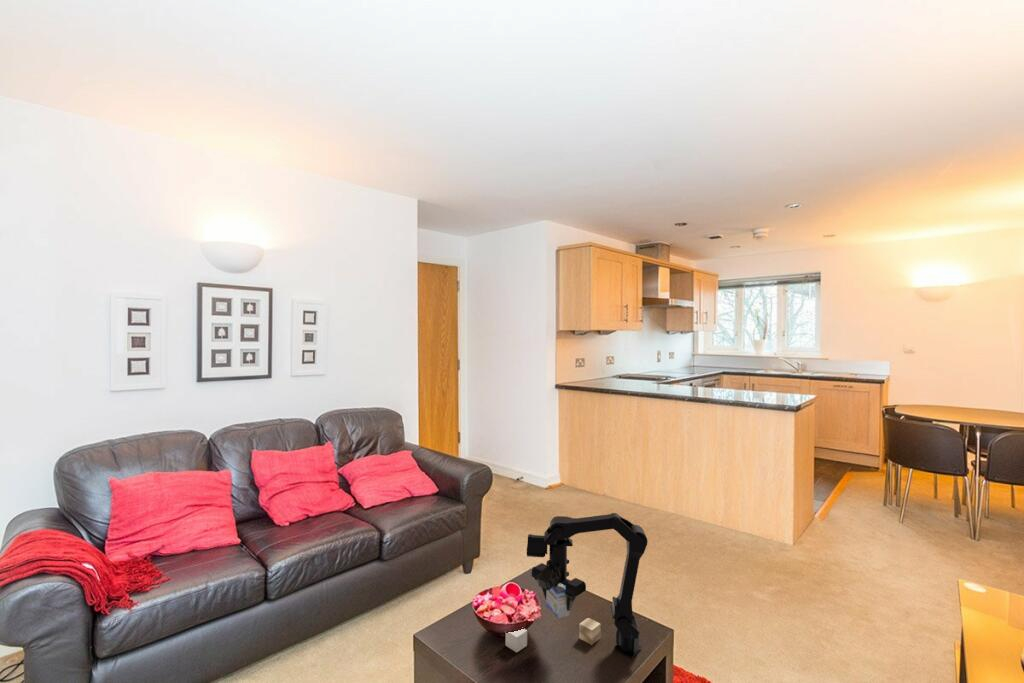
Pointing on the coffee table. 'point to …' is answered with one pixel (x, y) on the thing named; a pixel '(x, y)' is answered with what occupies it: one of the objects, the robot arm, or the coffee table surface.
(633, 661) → the coffee table surface
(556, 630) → the coffee table surface
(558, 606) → the medicine box
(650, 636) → the coffee table surface
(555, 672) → the coffee table surface
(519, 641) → the grey plastic cube
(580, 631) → the maple cube
